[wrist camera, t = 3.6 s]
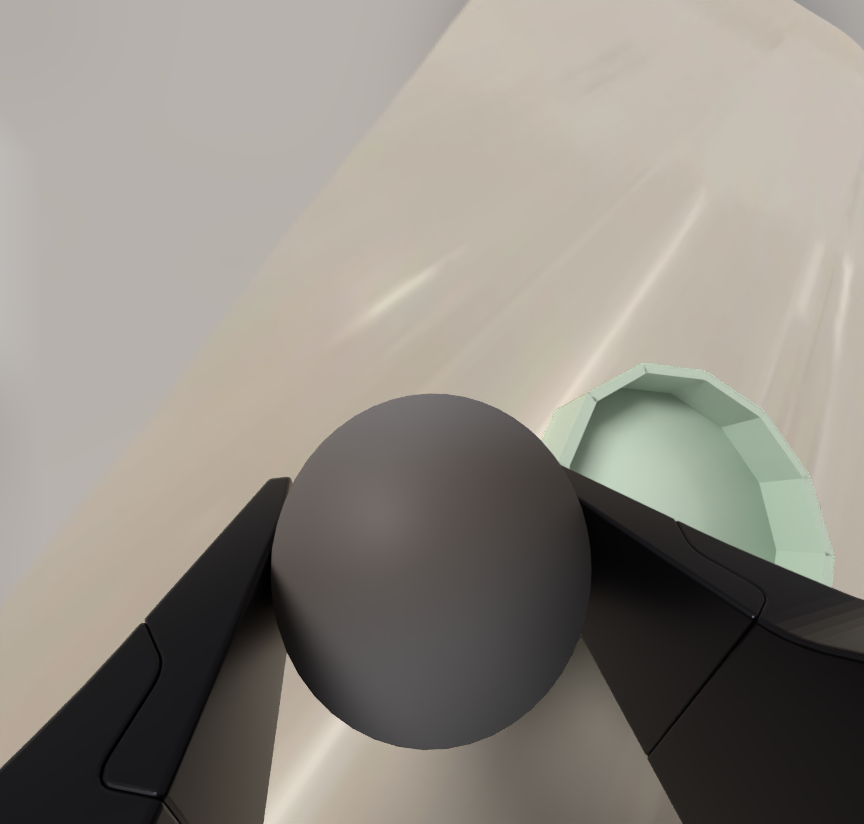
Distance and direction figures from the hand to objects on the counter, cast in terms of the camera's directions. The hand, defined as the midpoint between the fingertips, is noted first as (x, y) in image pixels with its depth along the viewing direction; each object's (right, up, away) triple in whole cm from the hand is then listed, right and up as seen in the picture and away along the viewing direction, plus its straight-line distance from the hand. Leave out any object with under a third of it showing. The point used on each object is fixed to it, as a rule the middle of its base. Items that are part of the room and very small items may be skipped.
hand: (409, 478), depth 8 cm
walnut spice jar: (-1, -3, +6) cm, 7 cm away
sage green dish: (+11, -3, +9) cm, 15 cm away
